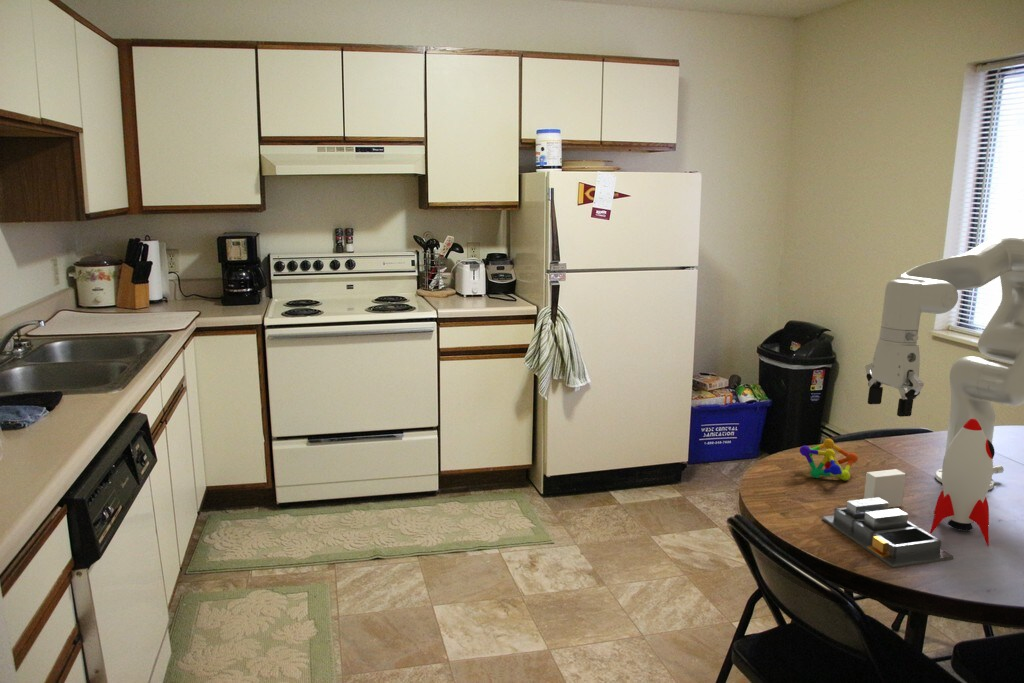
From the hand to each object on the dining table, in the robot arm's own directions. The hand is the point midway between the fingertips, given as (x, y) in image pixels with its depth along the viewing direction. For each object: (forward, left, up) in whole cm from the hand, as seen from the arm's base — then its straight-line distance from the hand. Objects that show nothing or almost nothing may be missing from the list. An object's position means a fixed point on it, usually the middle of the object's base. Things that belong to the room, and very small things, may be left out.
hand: (888, 409), depth 171 cm
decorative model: (+1, -18, -23) cm, 29 cm away
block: (0, +1, -23) cm, 23 cm away
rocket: (-7, +16, -23) cm, 29 cm away
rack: (+11, +15, -23) cm, 30 cm away
